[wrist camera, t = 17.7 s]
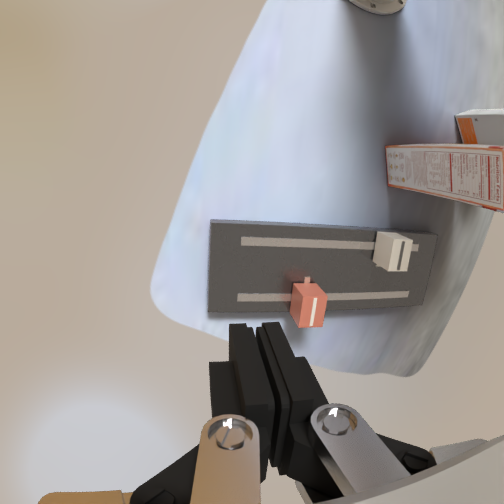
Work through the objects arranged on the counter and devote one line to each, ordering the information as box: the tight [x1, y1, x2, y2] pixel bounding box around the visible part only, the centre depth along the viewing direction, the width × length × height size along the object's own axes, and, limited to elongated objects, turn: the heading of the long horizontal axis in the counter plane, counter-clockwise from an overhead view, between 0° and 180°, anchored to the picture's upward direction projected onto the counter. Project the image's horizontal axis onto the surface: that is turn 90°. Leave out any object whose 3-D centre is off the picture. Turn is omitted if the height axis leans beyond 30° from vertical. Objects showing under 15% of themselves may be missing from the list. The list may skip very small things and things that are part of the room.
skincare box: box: [455, 109, 504, 146], centre depth 34 cm, size 6×4×12 cm
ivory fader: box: [373, 231, 413, 271], centre depth 38 cm, size 4×3×4 cm
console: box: [208, 219, 438, 312], centre depth 41 cm, size 11×32×2 cm, turn 86°
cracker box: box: [385, 144, 504, 213], centre depth 30 cm, size 14×6×21 cm, turn 97°
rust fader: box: [290, 283, 328, 328], centre depth 38 cm, size 4×3×4 cm
